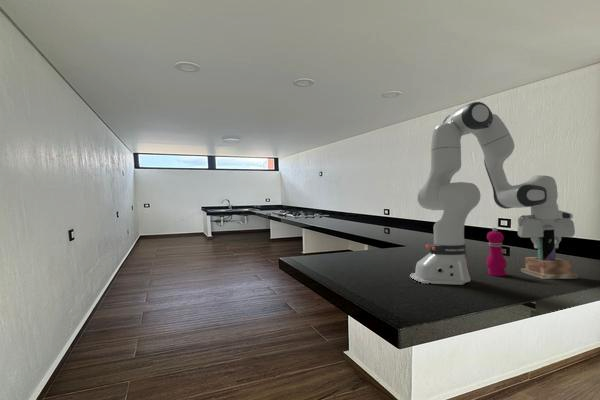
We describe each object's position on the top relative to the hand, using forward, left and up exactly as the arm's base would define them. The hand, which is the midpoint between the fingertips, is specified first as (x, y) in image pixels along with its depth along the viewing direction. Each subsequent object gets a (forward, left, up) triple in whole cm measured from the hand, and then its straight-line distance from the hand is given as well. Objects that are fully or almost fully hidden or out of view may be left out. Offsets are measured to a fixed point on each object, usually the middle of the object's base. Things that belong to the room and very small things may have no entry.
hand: (546, 248), depth 121 cm
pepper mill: (-19, +2, -11) cm, 22 cm away
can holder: (0, 0, -11) cm, 11 cm away
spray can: (0, 0, -9) cm, 9 cm away
